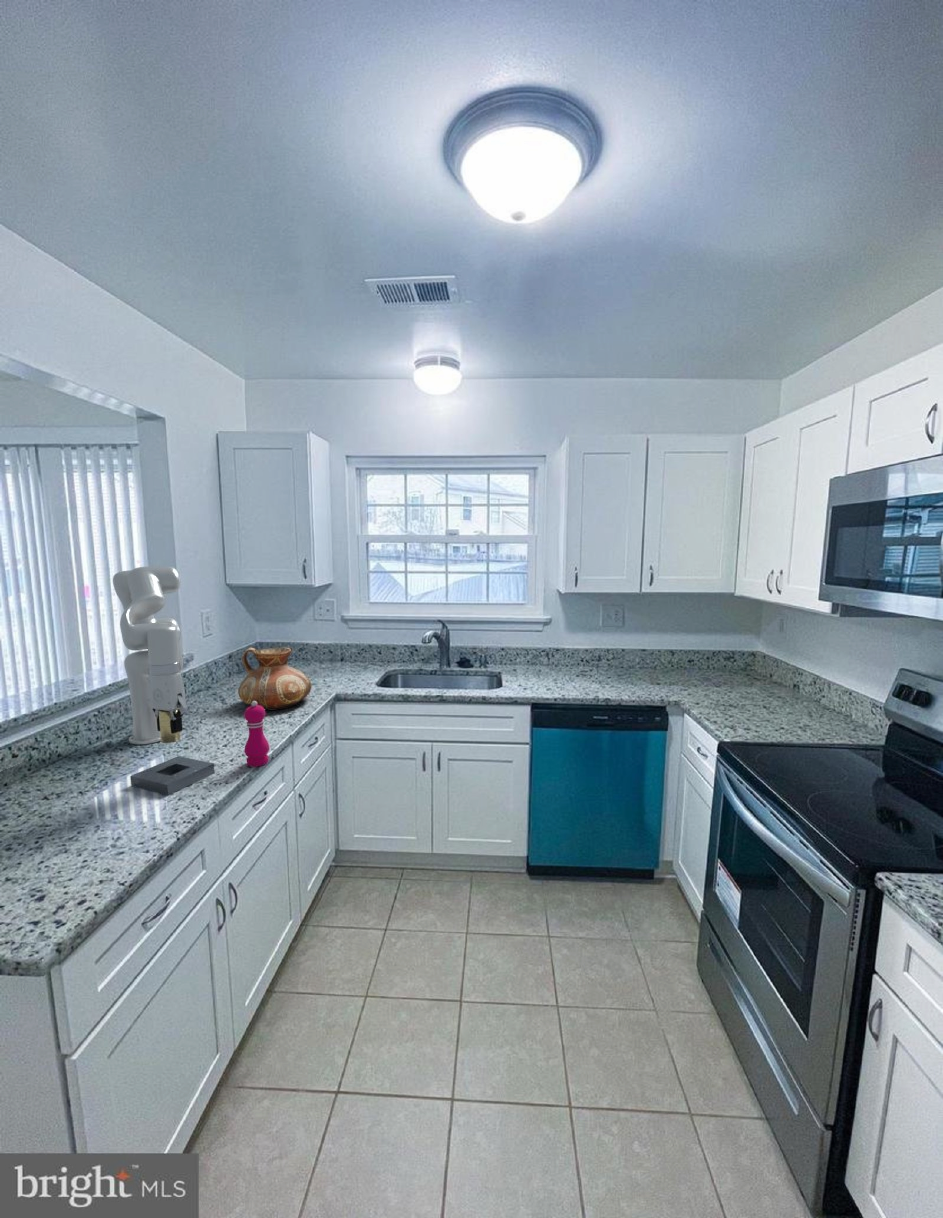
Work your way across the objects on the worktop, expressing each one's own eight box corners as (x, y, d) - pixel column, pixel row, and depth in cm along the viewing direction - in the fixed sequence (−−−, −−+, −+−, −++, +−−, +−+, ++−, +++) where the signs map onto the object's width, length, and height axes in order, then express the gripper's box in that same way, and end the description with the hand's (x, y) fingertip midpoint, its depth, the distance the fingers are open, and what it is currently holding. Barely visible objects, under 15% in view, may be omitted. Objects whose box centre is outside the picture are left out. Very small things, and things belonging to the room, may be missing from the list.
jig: (131, 786, 145) (130, 775, 145) (179, 765, 159) (178, 756, 158) (168, 795, 139) (167, 784, 139) (214, 773, 153) (213, 763, 153)
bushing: (157, 741, 146) (154, 711, 145) (172, 736, 151) (170, 706, 150) (168, 744, 144) (166, 712, 143) (184, 738, 149) (181, 708, 148)
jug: (298, 690, 243) (296, 638, 240) (324, 704, 220) (322, 647, 217) (231, 702, 224) (227, 646, 221) (252, 719, 201) (248, 657, 198)
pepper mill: (243, 768, 156) (239, 705, 153) (247, 759, 163) (243, 698, 160) (268, 766, 158) (265, 703, 155) (271, 756, 165) (268, 696, 162)
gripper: (132, 669, 145) (137, 731, 147) (174, 674, 138) (179, 739, 141) (157, 664, 152) (161, 723, 154) (198, 668, 145) (202, 730, 147)
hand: (170, 730), depth 147 cm, fingers closed on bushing, 4 cm apart
